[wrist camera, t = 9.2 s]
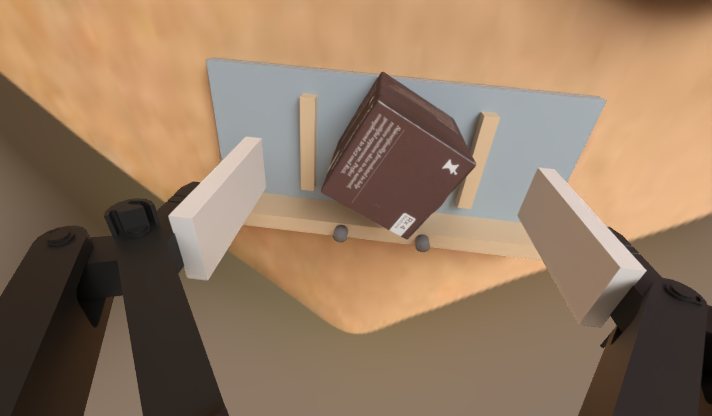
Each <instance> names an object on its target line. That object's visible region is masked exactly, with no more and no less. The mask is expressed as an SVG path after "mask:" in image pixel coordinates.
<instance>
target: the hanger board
mask: <svg viewBox="0 0 712 416" xmlns="http://www.w3.org/2000/svg"><path fill="white" fill-rule="evenodd" d="M206 63H207V69H208V76H209V82H210V88H211V95H212V101H213V107H214V114H215V120H216V126H217V133H218V139H219V145H220V152H221V158H222V160H223V159H224V158H225V157H226V156H227V155H228V154H229V153H230V152H231V151H232V150H233V149H234V148H235V147H236V146H237V145H238V144H239V143H240V142H241V141H242V140H243V139H244V138H245V137H256V138H262V148H263V159H264V170H265V181H266V189H265V190H264V192H263V193H262V195H261V197H260V198H259V200H258V201H257V203H256V205H255V206H254V208H253V209H252V211H251V213H250V214H249V216H248V217H247V219H246V221H245V222H244V224H243V225H248V226H256V227H265V228H273V229H281V230H290V231H298V232H307V233H315V234H323V235H332V236H333V238H334V239H335V240H336V241H337V242H344V241H345V240H346V239H347V237H349V238H357V239H365V240H374V241H382V242H391V243H399V244H407V245H416V249H417V250H418V251H420V252H426V251H428V250H429V248H430V247H433V248H441V249H449V250H458V251H466V252H475V253H483V254H491V255H500V256H508V257H517V258H525V259H533V260H542V259H541V257H540V255H539V253H538V252H537V250H536V248H535V246H534V244H533V243H532V241H531V239H530V237H529V236H528V234H527V232H526V230H525V228H524V227H523V225H522V223H521V221H520V219H519V218H518V216H517V215H518V212H519V210H520V208H521V205H522V203H523V201H524V198H525V196H526V194H527V192H528V189H529V187H530V185H531V182H532V180H533V178H534V175H535V173H536V171H537V168H548V169H555V170H556V171H557V173H558V174H559V175H560V176H561V177H562V178H563V179H564V180H565V181H566V182H568V180H569V178H570V175H571V173H572V171H573V169H574V167H575V165H576V163H577V161H578V159H579V157H580V155H581V153H582V151H583V149H584V147H585V144H586V142H587V140H588V138H589V136H590V134H591V132H592V130H593V128H594V126H595V124H596V122H597V120H598V118H599V116H600V113H601V111H602V109H603V107H604V105H605V103H606V101H607V100H605V99H603V98H601V97H599V96H590V95H580V94H570V93H560V92H550V91H540V90H530V89H520V88H510V87H500V86H490V85H480V84H470V83H460V82H450V81H440V80H430V79H421V78H411V77H401V76H391V75H389V76H391V77H392V78H394V79H395V80H397V81H398V82H400V83H401V84H403V85H404V86H406V87H407V88H409V89H410V90H412V91H413V92H415V93H416V94H418V95H419V96H421V97H422V98H424V99H425V100H427V101H428V102H430V103H431V104H433V105H434V106H436V107H437V108H439V109H440V110H442V111H443V112H445V113H446V114H448V115H449V116H451V117H452V118H453V119H454V120H455V122H456V124H457V126H458V128H459V130H460V132H461V135H462V136H463V138H464V141H465V143H466V145H467V146H468V148H469V150H470V151H471V153H472V156H473V158H474V160H475V162H476V166H475V168H474V169H473V170H472V171H471V172H470V173H469V174H468V176H467V177H466V178H465V179H464V180H463V181H462V182H461V183H460V184H459V185H458V186H457V187H456V188H455V189H454V190H453V191H452V193H451V194H450V195H449V196H448V197H447V199H446V201H445V202H444V203H443V205H442V206H441V207H440V208H439V209H438V210H437V211H435V212H434V213H433V214H431V215H430V217H429V218H428V219H427V220H426V221H425V222H424V223H423V224H422V225H421V226H420V228H419V229H418V230H417V231H416V232H415V233H414V234H413V235H412V236H411V237H410V238H409V239H408V240H406V239H404V238H402V237H400V236H398V235H396V234H395V233H393V232H391V231H389V230H387V229H386V228H384V227H382V226H380V225H379V224H377V223H375V222H373V221H372V220H370V219H368V218H366V217H364V216H362V215H361V214H359V213H357V212H355V211H353V210H352V209H350V208H348V207H346V206H344V205H342V204H341V203H339V202H337V201H335V200H333V199H331V198H330V197H328V196H326V195H324V194H323V193H321V189H322V187H323V184H324V181H325V178H326V175H327V172H328V169H329V167H330V164H331V161H332V158H333V155H334V152H335V150H336V147H337V144H338V141H339V140H340V138H341V136H342V135H343V133H344V132H345V130H346V128H347V126H348V125H349V123H350V121H351V119H352V118H353V116H354V115H355V113H356V112H357V110H358V108H359V106H360V105H361V103H362V102H363V100H364V98H365V97H366V95H367V94H368V92H369V91H370V89H371V88H372V86H373V84H374V83H375V81H376V79H377V78H378V76H379V75H380V74H371V73H361V72H351V71H341V70H331V69H321V68H311V67H301V66H291V65H281V64H271V63H261V62H251V61H241V60H231V59H221V58H210V59H207V60H206Z"/></svg>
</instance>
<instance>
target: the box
mask: <svg viewBox="0 0 712 416" xmlns="http://www.w3.org/2000/svg"><path fill="white" fill-rule="evenodd" d="M475 166H476V162H475V160H474V158H473V156H472V153H471V151H470V150H469V148H468V146H467V145H466V143H465V141H464V138H463V136H462V135H461V132H460V130H459V128H458V126H457V124H456V122H455V120H454V119H453V118H452V117H451V116H449V115H448V114H446V113H445V112H443V111H442V110H440V109H439V108H437V107H436V106H434V105H433V104H431V103H430V102H428V101H427V100H425V99H424V98H422V97H421V96H419V95H418V94H416V93H415V92H413V91H412V90H410V89H409V88H407V87H406V86H404V85H403V84H401V83H400V82H398V81H397V80H395V79H394V78H392V77H391V76H389V75H388V74H386V73H385V72H381V74H380V75H379V76H378V78H377V79H376V81H375V83H374V84H373V86H372V88H371V89H370V91H369V92H368V94H367V95H366V97H365V98H364V100H363V102H362V103H361V105H360V106H359V108H358V110H357V112H356V113H355V115H354V116H353V118H352V119H351V121H350V123H349V125H348V126H347V128H346V130H345V132H344V133H343V135H342V136H341V138H340V140H339V141H338V144H337V147H336V150H335V152H334V155H333V158H332V161H331V164H330V167H329V169H328V172H327V175H326V178H325V181H324V184H323V187H322V189H321V193H323V194H324V195H326V196H328V197H330V198H331V199H333V200H335V201H337V202H339V203H341V204H342V205H344V206H346V207H348V208H350V209H352V210H353V211H355V212H357V213H359V214H361V215H362V216H364V217H366V218H368V219H370V220H372V221H373V222H375V223H377V224H379V225H380V226H382V227H384V228H386V229H387V230H389V231H391V232H393V233H395V234H396V235H398V236H400V237H402V238H404V239H406V240H408V239H409V238H410V237H411V236H412V235H413V234H414V233H415V232H416V231H417V230H418V229H419V228H420V226H421V225H422V224H423V223H424V222H425V221H426V220H427V219H428V218H429V217H430V215H431V214H433V213H434V212H435V211H437V210H438V209H439V208H440V207H441V206H442V205H443V203H444V202H445V201H446V199H447V197H448V196H449V195H450V194H451V193H452V191H453V190H454V189H455V188H456V187H457V186H458V185H459V184H460V183H461V182H462V181H463V180H464V179H465V178H466V177H467V176H468V174H469V173H470V172H471V171H472V170H473V169H474V168H475Z"/></svg>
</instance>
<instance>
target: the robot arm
mask: <svg viewBox="0 0 712 416" xmlns="http://www.w3.org/2000/svg"><path fill="white" fill-rule="evenodd" d="M265 189H266V181H265V170H264V159H263V148H262V138H256V137H245V138H244V139H243V140H242V141H241V142H240V143H239V144H238V145H237V146H236V147H235V148H234V149H233V150H232V151H231V152H230V153H229V154H228V155H227V156H226V157H225V158H224V159H223V160H222V161H221V162H220V163H219V164H218V165H217V166H216V168H215V169H214V170H213V171H212V172H211V173H210V174H209V175H208V176H207V177H206V178H205V179H204V180H203V181H202V182H191V183H189V184H187V185H185V186H183V187H181V188H180V189H179V190H178V191H177V192H176V193H175V194H174V196H172V197H171V198H170V199H169V200H168V202H166V203H165V204H164V205H163V206H161V208H159V209H158V210H157V211H156V209H155V206H154V204H153V203H152V202H151V201H149V200H147V199H130V200H125V201H123V202H119V203H117V204H115V205H113V206H111V207H110V208H109V209H108V210H106V212H105V214H104V217H105V220H106V222H107V224H108V227H109V229H110V231H111V233H112V236H103V237H92V238H90V236H89V234H88V232H87V230H85V229H84V228H83V227H80V226H65V227H60V228H56V229H54V230H50V231H48V232H46V233H44V234H43V235H41V236H39V237H38V238H37V239H36V240H35V241H34V242H33V244H32V245H31V247H30V249H29V250H28V252H27V254H26V255H25V257H24V259H23V260H22V262H21V263H20V265H19V267H18V268H17V270H16V272H15V274H14V275H13V277H12V278H11V280H10V282H9V283H8V285H7V287H6V288H5V290H4V291H3V293H2V295H1V296H0V416H84V411H85V407H86V404H87V400H88V396H89V392H90V388H91V384H92V380H93V376H94V372H95V369H96V365H97V361H98V357H99V353H100V349H101V345H102V341H103V338H104V334H105V330H106V325H107V322H108V318H109V314H110V310H111V306H112V303H113V299H114V296H121V295H123V298H124V304H125V310H126V316H127V322H128V328H129V334H130V340H131V346H132V352H133V358H134V364H135V370H136V376H137V382H138V388H139V394H140V400H141V406H142V412H143V416H229V414H228V412H227V409H226V407H225V405H224V402H223V399H222V396H221V393H220V391H219V388H218V385H217V382H216V379H215V377H214V374H213V371H212V368H211V365H210V362H209V360H208V357H207V354H206V351H205V348H204V346H203V343H202V340H201V338H200V334H199V331H198V328H197V326H196V323H195V320H194V317H193V315H192V311H191V309H190V306H189V303H188V300H187V298H186V295H185V292H184V289H183V286H182V283H181V280H180V278H179V275H178V273H179V272H180V270H181V269H182V267H183V266H184V269H185V272H186V276H187V278H192V279H200V280H208V279H209V278H210V276H211V275H212V273H213V272H214V270H215V268H216V267H217V265H218V264H219V262H220V260H221V259H222V257H223V256H224V254H225V252H226V251H227V249H228V248H229V246H230V244H231V243H232V241H233V240H234V238H235V236H236V235H237V233H238V232H239V230H240V228H241V227H242V225H243V224H244V222H245V221H246V219H247V217H248V216H249V214H250V213H251V211H252V209H253V208H254V206H255V205H256V203H257V201H258V200H259V198H260V197H261V195H262V193H263V192H264V190H265ZM517 216H518V218H519V219H520V221H521V223H522V225H523V227H524V228H525V230H526V232H527V234H528V236H529V237H530V239H531V241H532V243H533V244H534V246H535V248H536V250H537V252H538V253H539V255H540V257H541V259H542V261H543V262H544V264H545V266H546V268H547V270H548V271H549V273H550V275H551V276H552V278H553V280H554V282H555V284H556V286H557V287H558V289H559V291H560V293H561V294H562V296H563V298H564V300H565V302H566V303H567V305H568V307H569V309H570V311H571V312H572V314H573V316H574V318H575V319H576V321H577V323H578V325H583V326H591V327H599V328H601V327H602V326H603V325H604V323H605V322H606V321H607V319H608V318H609V317H610V316H611V317H612V319H613V320H614V322H615V323H616V325H617V326H616V327H615V329H614V330H613V331H612V332H611V333H610V335H609V336H608V337H607V338H606V339H605V340H604V342H603V343H602V344H601V345H600V346H601V347H602V348H604V347H605V349H604V352H603V354H602V357H601V359H600V362H599V364H598V367H597V369H596V372H595V374H594V377H593V379H592V382H591V385H590V387H589V389H588V392H587V394H586V397H585V400H584V402H583V405H582V407H581V410H580V412H579V415H578V416H712V306H709V305H707V303H706V301H705V300H704V299H703V297H701V295H699V294H698V293H697V292H696V291H694V290H693V289H691V288H690V287H688V286H686V285H684V284H682V283H680V282H677V281H674V280H671V279H666V278H662V277H661V276H660V275H659V274H658V273H657V272H656V271H655V270H654V269H653V267H651V265H650V264H649V263H648V262H647V261H646V260H645V259H644V258H643V257H642V256H641V255H639V254H638V251H637V250H635V248H634V247H631V244H630V243H629V242H628V241H627V240H626V239H625V238H624V237H623V236H622V235H621V234H619V233H618V232H616V231H615V230H613V229H612V228H610V227H607V226H606V225H605V224H604V223H603V222H602V221H601V220H600V219H599V218H598V217H597V215H596V214H595V213H594V212H593V211H592V210H591V209H590V208H589V207H588V206H587V204H586V203H585V202H584V201H583V200H582V199H581V198H580V197H579V196H578V195H577V193H576V192H575V191H574V190H573V189H572V188H571V187H570V186H569V185H568V184H567V182H566V181H565V180H564V179H563V178H562V177H561V176H560V175H559V174H558V173H557V171H556V170H555V169H548V168H537V171H536V173H535V175H534V178H533V180H532V182H531V185H530V187H529V189H528V192H527V194H526V196H525V198H524V201H523V203H522V205H521V208H520V210H519V212H518V215H517Z"/></svg>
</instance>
